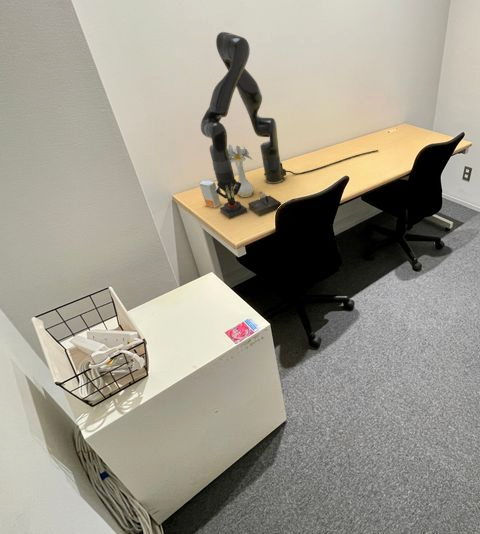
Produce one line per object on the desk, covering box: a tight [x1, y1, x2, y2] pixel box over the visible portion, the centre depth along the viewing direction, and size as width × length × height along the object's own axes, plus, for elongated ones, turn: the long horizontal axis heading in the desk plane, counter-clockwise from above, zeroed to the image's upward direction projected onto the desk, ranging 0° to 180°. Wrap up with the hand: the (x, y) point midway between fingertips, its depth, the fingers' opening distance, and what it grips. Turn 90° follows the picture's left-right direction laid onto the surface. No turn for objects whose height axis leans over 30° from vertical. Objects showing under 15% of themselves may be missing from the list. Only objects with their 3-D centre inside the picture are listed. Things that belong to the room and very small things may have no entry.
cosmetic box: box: [199, 179, 222, 209], centre depth 158 cm, size 6×4×12 cm
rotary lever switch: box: [247, 195, 282, 217], centre depth 159 cm, size 12×10×3 cm
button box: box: [219, 200, 248, 220], centre depth 155 cm, size 9×9×4 cm
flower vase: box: [227, 143, 255, 198], centre depth 163 cm, size 13×18×25 cm
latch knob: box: [258, 191, 269, 205], centre depth 156 cm, size 6×2×5 cm, turn 44°
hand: (232, 204), depth 154 cm, fingers closed
